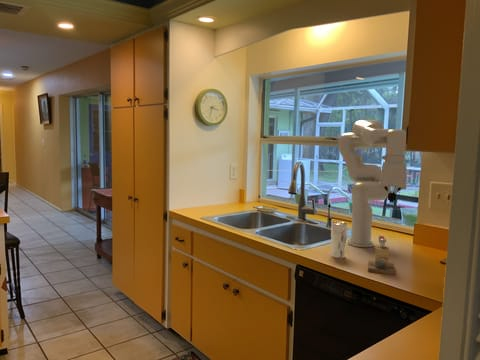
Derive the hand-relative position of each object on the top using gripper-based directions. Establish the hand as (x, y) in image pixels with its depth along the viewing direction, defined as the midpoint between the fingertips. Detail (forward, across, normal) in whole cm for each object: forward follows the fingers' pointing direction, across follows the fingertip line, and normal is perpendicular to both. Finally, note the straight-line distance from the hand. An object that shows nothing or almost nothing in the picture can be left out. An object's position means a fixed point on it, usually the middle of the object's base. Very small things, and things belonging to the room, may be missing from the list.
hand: (391, 202), depth 166 cm
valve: (+26, -3, -14) cm, 29 cm away
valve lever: (+17, -3, -10) cm, 20 cm away
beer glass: (+26, -21, -2) cm, 34 cm away
